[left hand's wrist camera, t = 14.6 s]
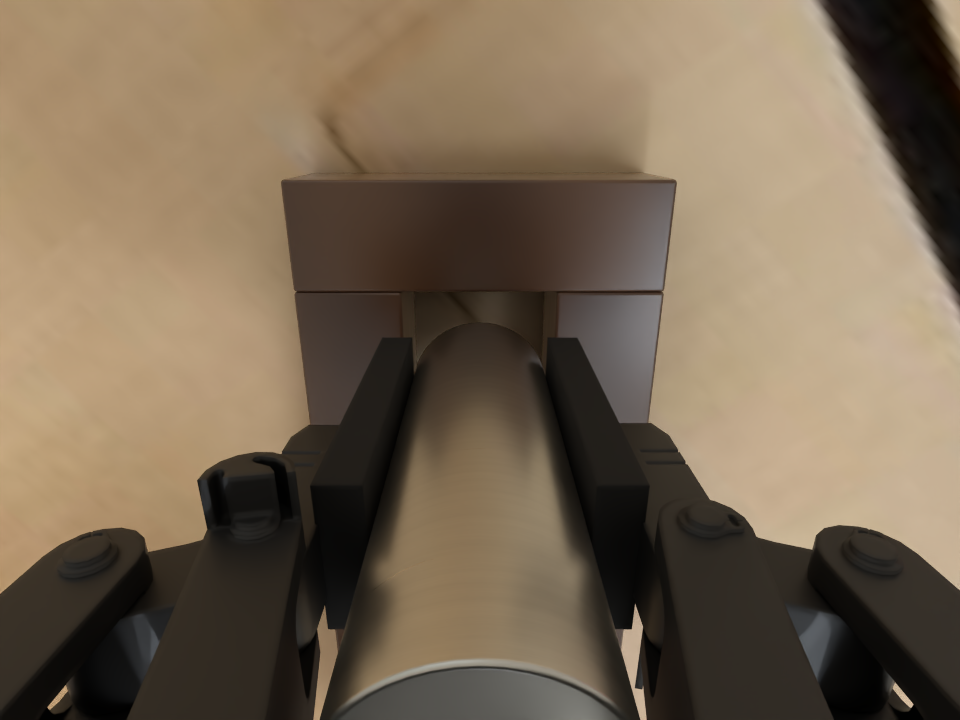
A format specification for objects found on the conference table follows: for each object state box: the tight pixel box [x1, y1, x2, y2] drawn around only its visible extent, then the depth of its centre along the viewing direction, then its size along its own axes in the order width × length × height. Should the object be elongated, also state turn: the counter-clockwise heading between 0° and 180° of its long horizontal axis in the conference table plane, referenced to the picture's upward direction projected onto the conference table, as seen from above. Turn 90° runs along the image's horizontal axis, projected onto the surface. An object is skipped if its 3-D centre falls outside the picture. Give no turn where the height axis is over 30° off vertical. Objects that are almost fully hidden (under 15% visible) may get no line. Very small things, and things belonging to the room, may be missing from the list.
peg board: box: [281, 173, 677, 651], centre depth 17 cm, size 10×24×9 cm, turn 0°
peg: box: [320, 323, 640, 720], centre depth 10 cm, size 3×3×10 cm
